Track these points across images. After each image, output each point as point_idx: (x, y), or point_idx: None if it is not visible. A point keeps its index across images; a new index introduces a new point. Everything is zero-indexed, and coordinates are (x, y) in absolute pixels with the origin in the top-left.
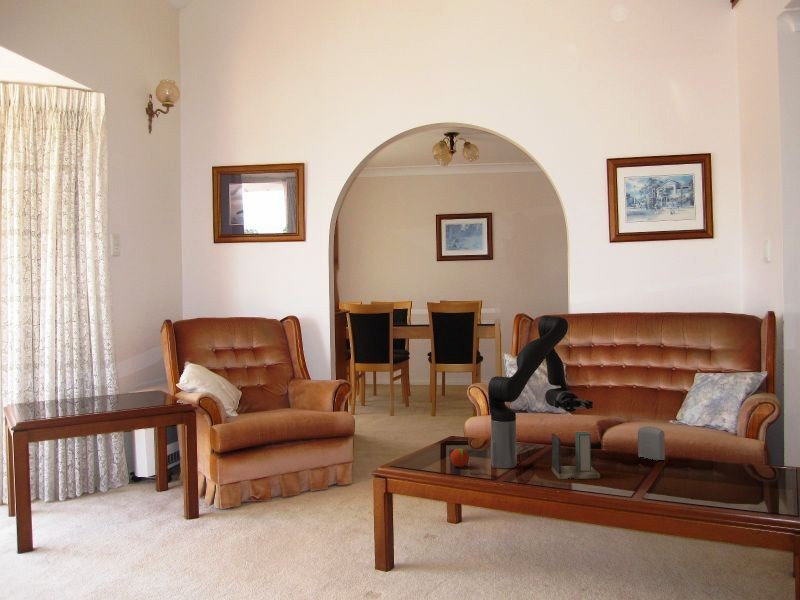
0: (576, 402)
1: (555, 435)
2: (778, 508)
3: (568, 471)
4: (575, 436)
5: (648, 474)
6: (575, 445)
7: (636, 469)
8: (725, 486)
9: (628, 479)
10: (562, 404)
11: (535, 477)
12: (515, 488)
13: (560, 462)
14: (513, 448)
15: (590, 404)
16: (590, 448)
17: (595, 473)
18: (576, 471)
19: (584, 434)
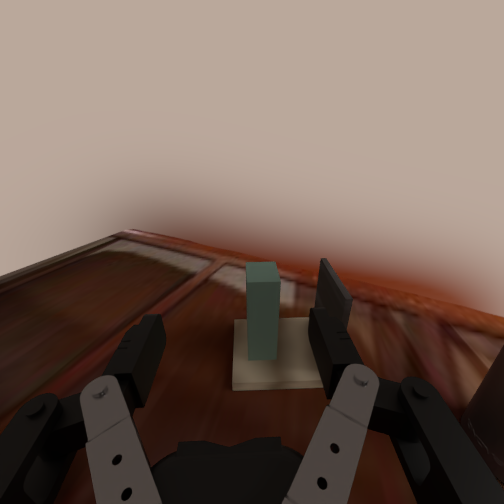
0: (194, 445)
1: (337, 282)
2: (101, 244)
3: (296, 335)
4: (279, 291)
5: (116, 349)
6: (278, 313)
7: None
8: (62, 290)
9: (184, 320)
10: (347, 337)
11: (364, 333)
12: (379, 286)
13: (315, 302)
14: (485, 376)
15: (135, 325)
16: (246, 292)
17: (242, 322)
18: (278, 335)
19: (261, 262)
